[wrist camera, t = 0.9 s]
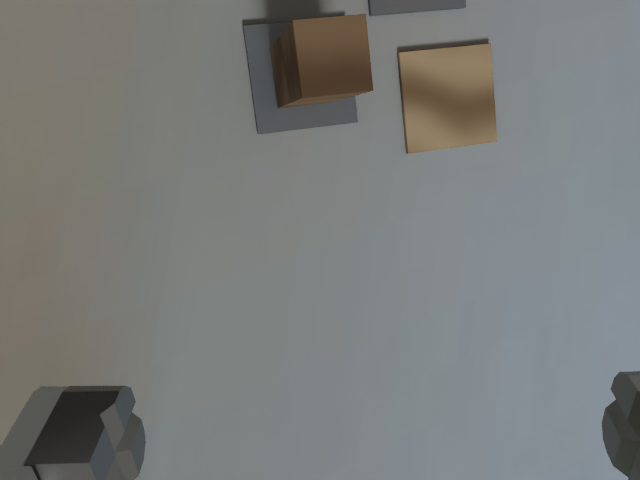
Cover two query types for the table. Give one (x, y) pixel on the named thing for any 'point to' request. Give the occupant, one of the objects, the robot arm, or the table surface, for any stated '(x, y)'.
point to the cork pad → (447, 97)
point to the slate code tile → (265, 93)
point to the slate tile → (411, 6)
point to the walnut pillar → (321, 60)
